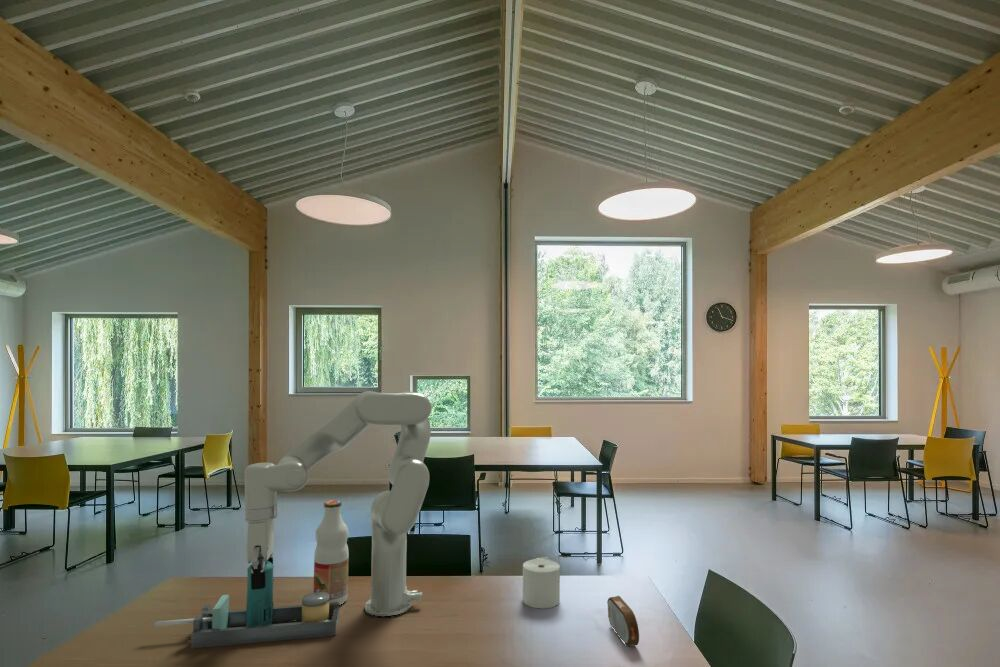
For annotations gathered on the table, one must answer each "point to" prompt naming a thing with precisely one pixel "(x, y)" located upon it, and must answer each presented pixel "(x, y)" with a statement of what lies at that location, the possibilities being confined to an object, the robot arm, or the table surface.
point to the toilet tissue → (541, 583)
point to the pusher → (217, 619)
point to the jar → (315, 606)
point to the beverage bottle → (260, 599)
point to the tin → (623, 620)
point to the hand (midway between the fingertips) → (262, 580)
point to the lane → (261, 627)
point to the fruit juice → (332, 554)
